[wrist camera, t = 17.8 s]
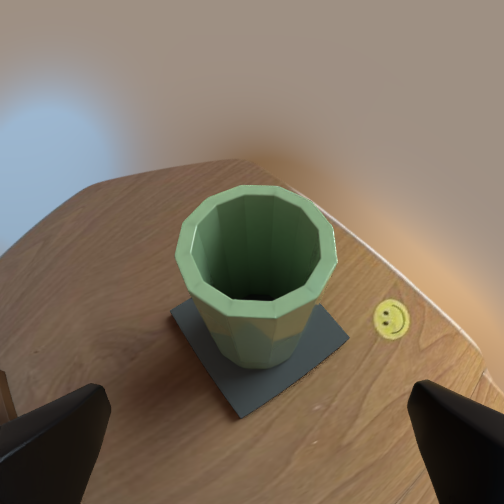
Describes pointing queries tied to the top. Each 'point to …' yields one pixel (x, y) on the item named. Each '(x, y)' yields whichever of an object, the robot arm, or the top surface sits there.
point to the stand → (5, 401)
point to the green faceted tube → (256, 269)
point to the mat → (258, 380)
